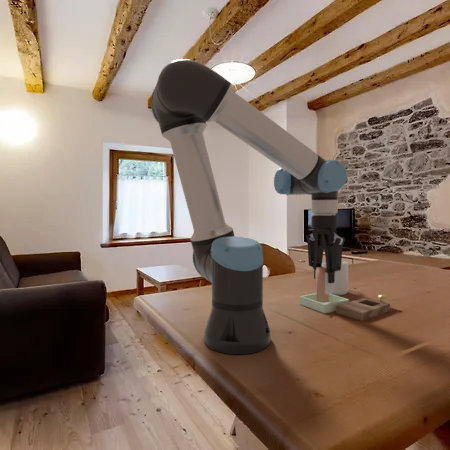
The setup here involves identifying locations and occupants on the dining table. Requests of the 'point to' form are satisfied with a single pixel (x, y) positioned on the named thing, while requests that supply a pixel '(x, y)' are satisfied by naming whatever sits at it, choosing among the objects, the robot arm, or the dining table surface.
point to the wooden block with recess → (362, 308)
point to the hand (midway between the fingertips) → (323, 291)
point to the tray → (322, 307)
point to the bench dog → (383, 298)
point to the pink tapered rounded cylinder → (321, 284)
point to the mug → (340, 279)
